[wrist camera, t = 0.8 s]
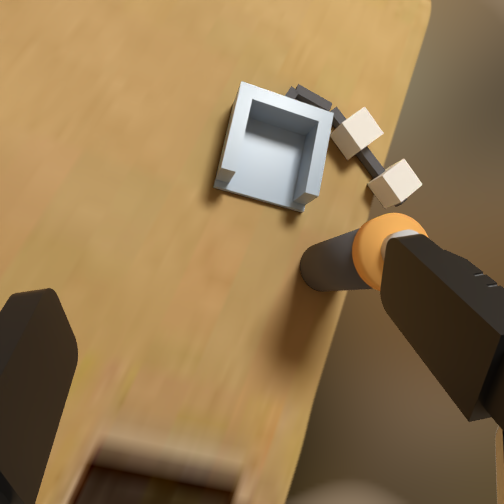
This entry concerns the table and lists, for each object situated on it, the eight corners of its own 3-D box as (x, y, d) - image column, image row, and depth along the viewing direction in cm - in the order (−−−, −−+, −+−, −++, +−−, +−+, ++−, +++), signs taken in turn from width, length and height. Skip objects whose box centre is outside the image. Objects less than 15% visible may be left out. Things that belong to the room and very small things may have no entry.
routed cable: (266, 105, 35) (275, 90, 32) (318, 72, 37) (330, 55, 34) (361, 235, 35) (376, 230, 33) (407, 196, 37) (425, 188, 35)
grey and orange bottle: (286, 261, 33) (356, 239, 21) (326, 229, 35) (413, 192, 23) (319, 306, 34) (407, 308, 22) (357, 272, 35) (460, 258, 23)
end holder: (301, 212, 34) (317, 202, 31) (213, 187, 33) (219, 174, 29) (317, 130, 36) (333, 113, 32) (233, 102, 34) (241, 81, 31)
